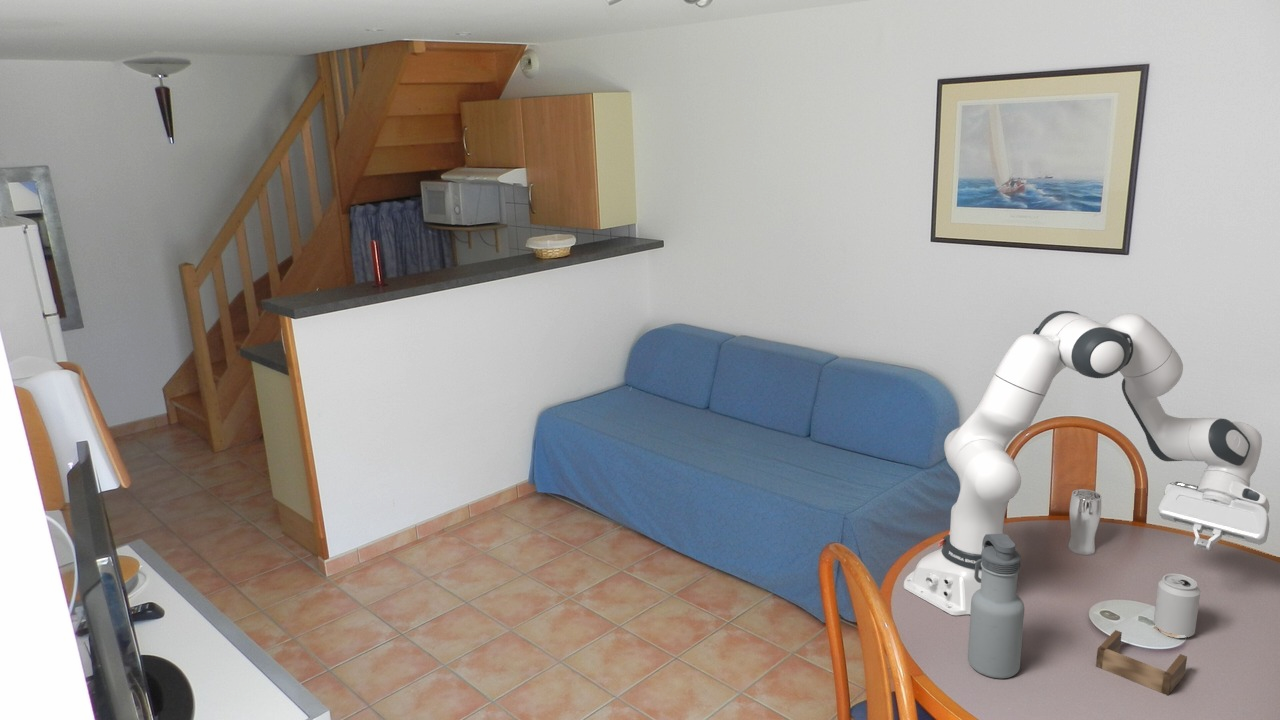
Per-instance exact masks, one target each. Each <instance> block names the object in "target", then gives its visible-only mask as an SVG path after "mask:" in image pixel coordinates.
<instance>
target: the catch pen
mask: <svg viewBox="0 0 1280 720" xmlns="http://www.w3.org/2000/svg"><path fill="white" fill-rule="evenodd" d="M1122 633H1123V632H1122V631H1119V630H1116V629H1114V631H1113V632H1112V633H1111V634H1110V635H1109V636H1108V637H1107V638H1106V640H1104V641H1103V642H1102V643H1101V645H1099V646H1098V648H1097V652H1096V662H1095V667H1098V668H1099V669H1102V670H1105V671H1107V672H1109V673H1112V674H1114V675H1117V676H1119V677H1121V678H1124V679H1127V680H1129V681H1131V682H1135V683H1136V684H1139V685H1141V686H1143V687H1147V688H1150V689H1152V690H1153V691H1156V692H1159V693H1161V694H1164V695H1166V696H1169V695H1170V694H1171V693H1172V691H1173V690H1174V689H1175V688H1176V686H1177V685H1178V684H1179V683H1180V681H1181V680H1182V678H1183V677H1184V676H1185V674H1186V668H1187V667H1186V666H1187V660H1188V656H1187V655H1184V654H1181V653H1180V654H1179V655H1178V656H1177V658H1175V660H1174V661H1173V662H1172V664H1171V665H1170V666H1169V667H1168V668H1167V669H1166V670H1163V669H1160V668H1157V667H1155V666H1152V665H1150V664H1147V663H1145V662H1142V661H1139V660H1137V659H1135V658H1132V657H1130V656H1127V655H1124V654H1121V653H1119V651H1120V650H1121V642H1122Z"/></svg>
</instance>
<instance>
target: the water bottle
mask: <svg viewBox="0 0 1280 720" xmlns="http://www.w3.org/2000/svg"><path fill="white" fill-rule="evenodd" d="M981 555H982V559H979V560H977V561H976V563H975V574H974V578H975V580H976V581H977V582H979V583H981V589H979V590H977V591H976V592H975V593H974V594H973V596H972V598H971V610H970V614H969V626H968V627H969V629H968V647H967V661H968V663H969V665H970V667H971V668H973V670H974V671H975V672H978V673H979V674H981V675H983V676H986V677H988V678H994V679H1008V678H1011V677H1014V676H1016V674H1017V673H1018V672H1019V671H1020V669H1021V659H1022V647H1023V646H1022V645H1023V635H1024V634H1023V633H1024V621H1025V619H1024V618H1025V604H1024V601H1023V599H1022V598H1021V597H1020V596H1019V595H1018V591H1017V590H1018V580H1019V578H1018V577H1019V573H1020V571H1021V569H1020V567H1021V555H1020V553H1019V552H1018V551H1017V550H1016V543H1015V542H1014V541H1013V540H1012V539H1011V538H1010V536H1009V535H1008V534H1006V533H1003V534H986V535H985V536H984V538H983V543H982V552H981ZM980 565H981V567H982V575H981V579H980V578H979V576H978V574H979V566H980Z"/></svg>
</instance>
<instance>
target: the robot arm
mask: <svg viewBox="0 0 1280 720" xmlns="http://www.w3.org/2000/svg"><path fill="white" fill-rule="evenodd" d="M1065 368H1068V369H1070V370H1072V371H1075V372H1078V373H1079V374H1081V375H1082V376H1084V377H1088V378H1091V379H1093V378H1094V379H1105V378H1110V377H1111V376H1113V375H1115V374H1117V373H1118V372H1119V373H1120V374H1121V376H1123V379H1122V382H1121V391H1122V393H1123V396H1124V398H1125V400H1126V402H1127V404H1128V406H1129V408H1130V409H1131V412H1132V413H1133V415H1134V416H1135V418H1136V419H1137V421H1138V423H1139V425H1140V428H1141V429H1142V431H1143V433H1144V434H1145V437H1146V440H1147V445H1148V447H1149V449H1150V451H1151V452H1152V453H1153V454H1154V455H1155V456H1156V457H1157V458H1158V459H1159V460H1161V461H1164V462H1183V461H1184V462H1185V461H1188V462H1204V463H1205V464H1207V466H1206V468H1205V469H1204V471H1203V473H1202V475H1201V477H1200V480H1199V484H1198V485H1195V484H1189V483H1184V482H1182V481H1175V482H1170V483H1168V484H1167V485H1166V486H1165V489H1164V494H1163V495H1164V496H1163V498H1162V499H1161V500H1160V503H1159V505H1158V508H1157V512H1158V514H1159V516H1160V518H1161V519H1163V520H1166V521H1169V522H1173V523H1176V524H1177V523H1178V524H1180V525H1184V526H1188V527H1192V530H1193V534H1194V537H1195V539H1194V541H1193V545H1194V547H1195V548H1198V549H1202V550H1206V551H1211V550H1212V548H1213V547H1212V546H1213V545H1215V544H1216V543H1217V542H1218V541H1220V540H1222V537H1223V536H1226V537H1228V538H1233V539H1237V540H1240V541H1244V542H1247V543H1252V544H1255V545H1258V546H1260V545H1263V544H1265V543H1266V542H1267V540H1268V536H1269V531H1270V518H1269V512H1270V502H1269V500H1268V497H1267V496H1266V495H1265V494H1263V493H1261V492H1259V491H1257V490H1255V489H1253V488H1251V477H1252V476H1253V474H1254V473H1255V472H1256V470H1257V467H1258V463H1259V460H1260V457H1261V453H1262V445H1263V444H1262V443H1263V440H1262V439H1263V438H1262V434H1261V433H1260V431H1258V430H1257V429H1256V428H1255V427H1254V426H1252V425H1250V424H1248V423H1245V422H1241V421H1232V420H1231V421H1230V420H1229V419H1226V418H1222V417H1220V418H1219V417H1184V418H1183V417H1176V416H1173V415H1169V414H1168V413H1166V411H1165V410H1164V408H1163V405H1162V404H1161V402H1160V401H1159V399H1158V398H1159V397H1162V396H1163V395H1165V394H1168V392H1169V391H1171V390H1172V389H1173V388H1174V387H1176V385H1177V384H1178V383H1179V382H1180V380H1181V378H1182V376H1183V372H1184V365H1183V361H1182V359H1181V357H1180V354H1179V353H1178V352H1177V350H1176V349H1175V347H1173V346H1172V344H1171V343H1170V342H1169V340H1168V339H1167V338H1166V337H1165V335H1163V333H1162V332H1161V331H1160V330H1159V329H1158V328H1156V327H1155V326H1154V325H1153V324H1152V323H1151V322H1150V321H1149V320H1147V319H1146V318H1145V317H1143V316H1141V315H1140V314H1136V313H1129V312H1128V313H1124V314H1119V315H1117V316H1115V317H1113V318H1112V319H1111V320H1109V321H1108V322H1107V323H1105V324H1103V323H1101V322H1099V321H1098V320H1096V319H1094V318H1092V317H1089V316H1086V315H1083V314H1081V313H1079V312H1075V311H1073V310H1071V311H1070V310H1058V311H1055V312H1052V313H1051V314H1049V315H1048V316H1046V317H1045V318H1044V319H1043V320H1042V321H1041V323H1039V325H1038V326H1037V327H1036V328H1035V329H1034V330H1033V332H1032V333H1025V334H1022V335H1020V336H1019V337H1017V338H1016V339H1015V340H1014V342H1013V343H1012V344H1011V345H1010V347H1009V348H1008V350H1007V351H1006V352H1005V354H1004V355H1003V357H1002V358H1001V360H1000V362H999V364H998V365H997V367H996V369H995V372H994V373H993V375H992V378H991V379H990V382H989V384H988V385H987V388H986V389H985V391H984V393H983V395H982V398H981V400H980V401H979V403H978V405H977V406H976V407H975V408H974V410H973V412H971V414H970V415H969V416H968V418H967V419H966V420H965V421H964V423H962V425H960V426H958V427H956V428H955V429H953V430H951V432H949V433H948V434H947V436H946V438H945V439H944V443H943V450H944V455H945V458H946V462H947V463H948V465H949V467H951V469H952V470H953V472H954V473H956V475H957V477H958V480H959V487H960V488H959V494H958V497H957V499H956V502H955V503H954V504H953V505H952V507H951V510H950V523H949V524H950V528H949V532H948V534H946V535H945V536H943V537H942V539H941V540H939V542H938V545H937V546H938V548H939V549H937V550H934V551H931V552H930V553H928V554H926V555H925V556H924V557H922V558H921V559H920V560H919V562H918V563H917V564H916V566H915V569H914V570H913V571H912V572H910V573H909V574H908V575H907V576H906V577H905V578H904V581H903V589H905V590H906V591H908V592H910V593H911V594H913V595H915V596H917V597H919V598H920V599H922V600H924V601H925V602H928V603H930V604H931V605H933V606H935V607H937V608H938V609H940V610H942V611H944V612H946V613H948V614H949V615H951V616H964V615H970V610H971V598H972V596H973V594H974V593H975V592H976V591H977V590H979V589H981V583H979V582H977V581H976V580H975V578H974V574H975V563H976V561H977V560H979V559H982V555H981V552H982V543H983V538H984V536H985V535H986V534H1004V524H1005V515H1006V511H1007V508H1008V505H1009V503H1010V500H1011V499H1014V497H1015V496H1017V494H1018V492H1019V491H1020V488H1021V484H1022V477H1021V473H1020V472H1019V469H1018V466H1017V465H1016V462H1015V460H1014V459H1013V458H1012V457H1011V455H1010V454H1008V453H1007V452H1006V448H1007V447H1008V445H1009V443H1010V442H1011V441H1012V440H1013V439H1014V437H1016V436H1017V434H1019V433H1020V432H1023V431H1025V430H1027V429H1029V427H1030V426H1031V425H1032V423H1033V421H1034V418H1035V417H1036V414H1037V413H1038V411H1039V409H1040V407H1041V405H1042V403H1043V401H1044V399H1045V397H1046V396H1047V394H1048V392H1049V389H1050V387H1051V385H1052V383H1053V380H1054V379H1055V378H1056V376H1057V375H1058V374H1059V373H1060V372H1062V370H1064V369H1065ZM1203 531H1206V532H1210V533H1212V536H1211V537H1210V538H1209V539H1205V538H1200V535H1199V534H1203ZM941 546H942V547H941ZM940 547H941V548H940ZM981 575H982V567H981V565H980V566H979V574H978V576H979V578H980V579H981Z"/></svg>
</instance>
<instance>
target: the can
mask: <svg viewBox="0 0 1280 720" xmlns="http://www.w3.org/2000/svg"><path fill="white" fill-rule="evenodd" d="M1200 598H1201V590H1200V588H1199V585H1198V582H1197V581H1196V580H1195V579H1194V578H1191V577H1190V576H1187V575H1186V574H1180V573H1166V574H1165V575H1163V576H1162V578H1161V580H1159V581H1158V584H1157V591H1156V601H1155V607H1154V608H1155V609H1154V615H1153V622H1154V623H1155V625H1156V626H1157V627H1158V628H1159V629H1161V630H1162V631H1164V632H1167V633H1172V634H1178V635H1185V636H1186V637H1188V638H1189V637H1193V636H1195V633H1196V626H1197V618H1198V612H1199V605H1200ZM1154 623H1153V624H1154Z"/></svg>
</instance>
